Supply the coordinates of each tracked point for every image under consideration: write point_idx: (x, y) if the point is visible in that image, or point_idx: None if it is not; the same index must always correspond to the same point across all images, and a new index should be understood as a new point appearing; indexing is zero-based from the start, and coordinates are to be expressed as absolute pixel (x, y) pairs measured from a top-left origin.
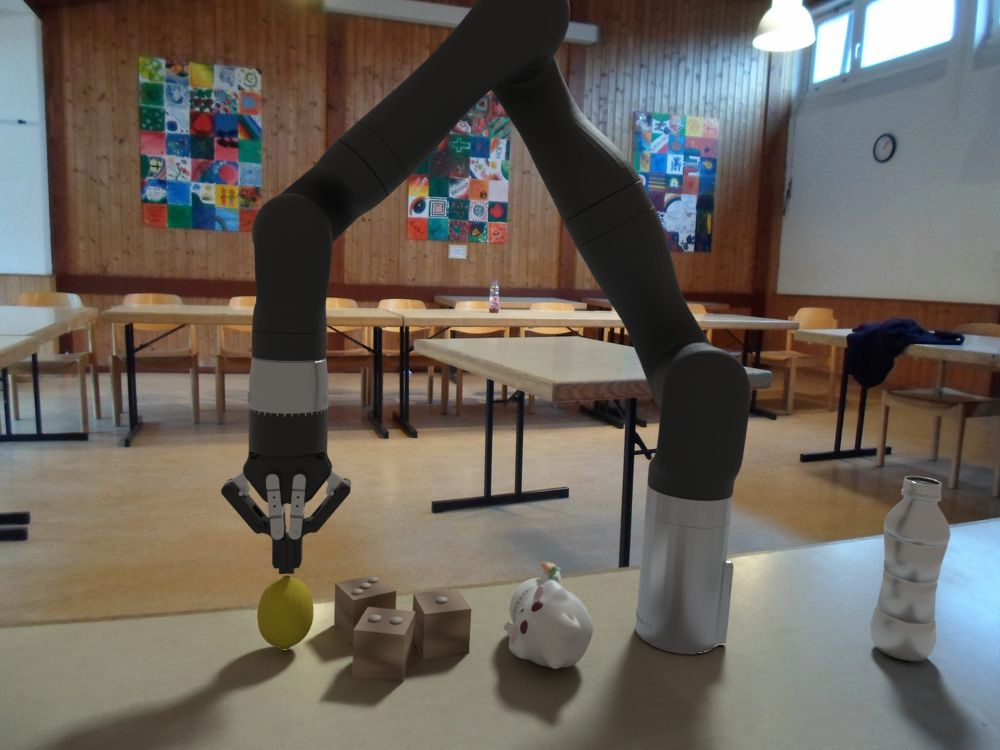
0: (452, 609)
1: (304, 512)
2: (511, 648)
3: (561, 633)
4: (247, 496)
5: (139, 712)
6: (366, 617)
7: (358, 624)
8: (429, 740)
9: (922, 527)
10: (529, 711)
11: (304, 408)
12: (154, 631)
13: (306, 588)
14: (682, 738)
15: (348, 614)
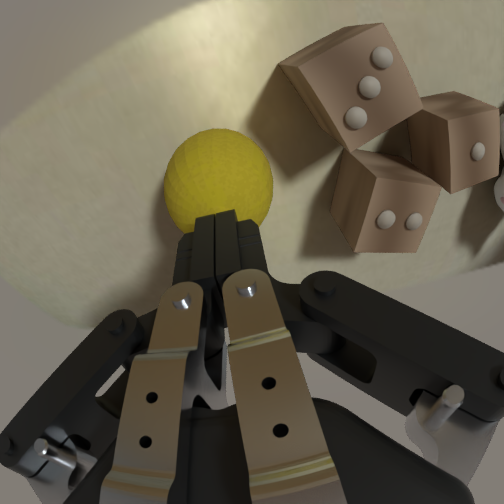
0: (481, 177)
1: (285, 327)
2: (496, 196)
3: None
4: (71, 429)
5: (123, 297)
6: (373, 214)
7: (361, 236)
8: (393, 288)
9: None
10: (469, 243)
11: None
12: (18, 156)
13: (263, 197)
14: None
15: (325, 122)
